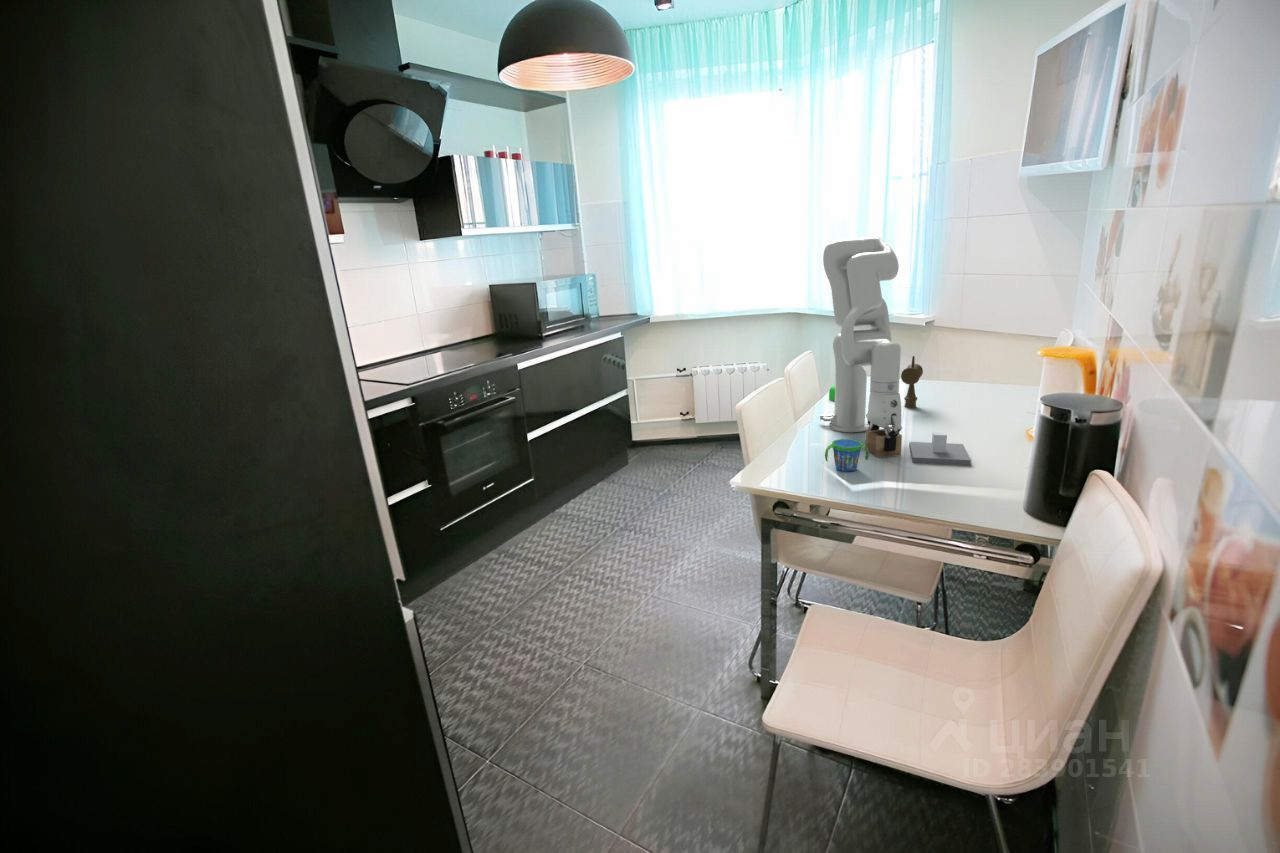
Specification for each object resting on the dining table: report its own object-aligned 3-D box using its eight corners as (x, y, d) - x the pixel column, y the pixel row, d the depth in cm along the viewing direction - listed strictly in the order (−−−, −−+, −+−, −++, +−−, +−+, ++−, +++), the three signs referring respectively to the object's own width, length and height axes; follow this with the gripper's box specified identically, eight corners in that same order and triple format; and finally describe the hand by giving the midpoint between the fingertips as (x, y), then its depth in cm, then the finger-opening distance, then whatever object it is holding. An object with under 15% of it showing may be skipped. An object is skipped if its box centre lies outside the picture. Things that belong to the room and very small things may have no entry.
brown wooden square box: (877, 457, 164) (878, 437, 162) (864, 450, 171) (865, 431, 169) (900, 455, 165) (901, 435, 163) (886, 447, 172) (887, 428, 170)
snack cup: (865, 463, 160) (866, 438, 158) (871, 473, 153) (872, 447, 151) (822, 464, 162) (822, 439, 160) (826, 474, 155) (827, 447, 153)
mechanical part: (841, 409, 216) (841, 388, 214) (828, 406, 221) (829, 386, 219) (863, 403, 222) (864, 383, 219) (850, 401, 227) (851, 381, 224)
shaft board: (912, 462, 159) (914, 439, 157) (908, 446, 171) (910, 425, 169) (970, 465, 154) (972, 442, 152) (962, 448, 166) (964, 427, 165)
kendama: (898, 413, 205) (901, 357, 199) (903, 407, 212) (906, 353, 207) (916, 415, 201) (920, 358, 196) (921, 408, 209) (925, 353, 204)
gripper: (915, 391, 155) (912, 454, 159) (879, 380, 172) (877, 438, 176) (890, 393, 154) (887, 457, 158) (856, 383, 171) (854, 440, 175)
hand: (882, 446), depth 167 cm, fingers closed on brown wooden square box, 7 cm apart
